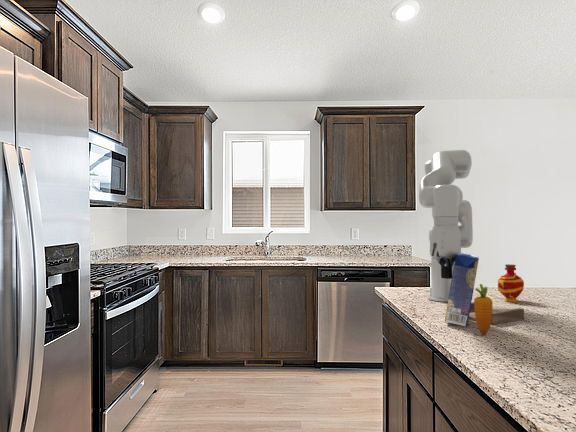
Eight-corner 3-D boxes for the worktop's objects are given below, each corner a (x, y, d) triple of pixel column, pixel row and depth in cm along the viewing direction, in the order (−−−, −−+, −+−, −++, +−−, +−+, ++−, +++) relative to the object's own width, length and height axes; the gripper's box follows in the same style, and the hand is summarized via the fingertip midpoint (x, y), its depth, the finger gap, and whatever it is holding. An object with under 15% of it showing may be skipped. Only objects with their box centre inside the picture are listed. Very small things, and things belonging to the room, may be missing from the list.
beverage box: (467, 319, 149) (478, 256, 148) (467, 326, 139) (478, 258, 138) (446, 314, 152) (457, 252, 151) (444, 321, 142) (455, 254, 141)
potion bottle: (528, 303, 177) (527, 266, 178) (501, 302, 180) (500, 265, 180) (520, 298, 188) (519, 263, 188) (494, 298, 190) (493, 263, 190)
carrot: (491, 339, 125) (491, 286, 125) (473, 336, 127) (472, 285, 128) (494, 335, 129) (493, 284, 129) (476, 333, 132) (475, 282, 132)
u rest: (450, 315, 156) (450, 305, 156) (481, 310, 164) (481, 301, 164) (492, 324, 141) (492, 314, 141) (524, 319, 149) (523, 309, 149)
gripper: (452, 222, 151) (453, 275, 151) (420, 222, 144) (421, 278, 144) (471, 222, 144) (471, 278, 144) (438, 222, 137) (438, 281, 137)
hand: (446, 278), depth 144 cm, fingers closed
